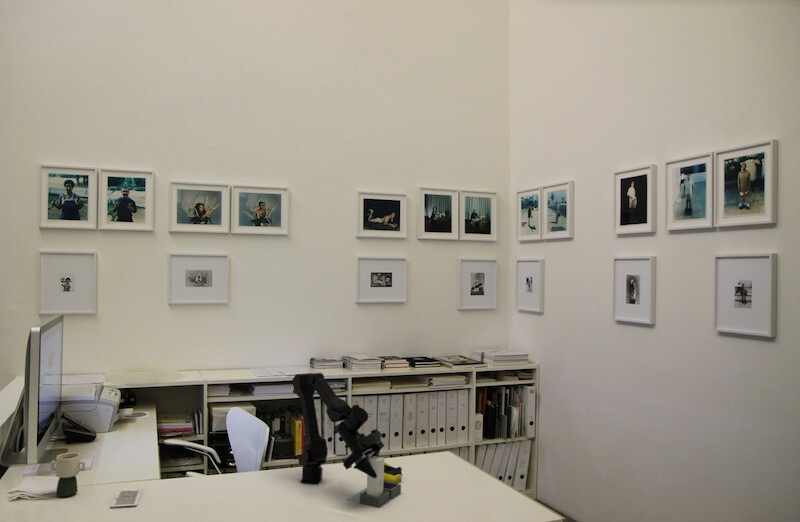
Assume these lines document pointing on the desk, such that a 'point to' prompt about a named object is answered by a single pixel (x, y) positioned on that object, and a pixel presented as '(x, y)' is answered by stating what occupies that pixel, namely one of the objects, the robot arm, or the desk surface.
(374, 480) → the plug
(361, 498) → the board
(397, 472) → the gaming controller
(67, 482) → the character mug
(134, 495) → the touchpad
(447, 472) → the desk surface
